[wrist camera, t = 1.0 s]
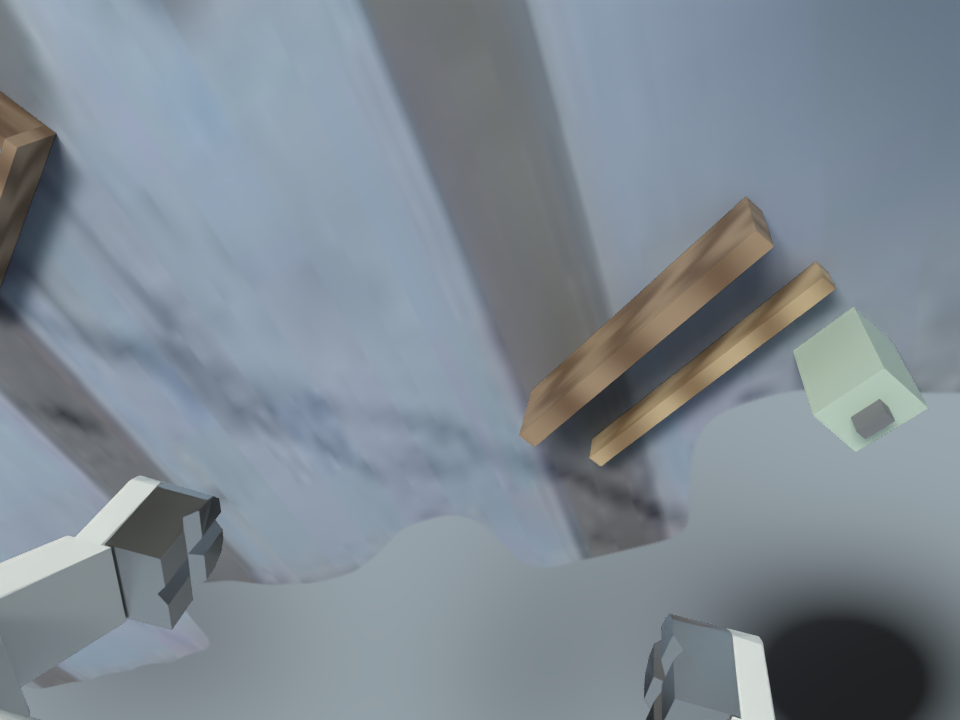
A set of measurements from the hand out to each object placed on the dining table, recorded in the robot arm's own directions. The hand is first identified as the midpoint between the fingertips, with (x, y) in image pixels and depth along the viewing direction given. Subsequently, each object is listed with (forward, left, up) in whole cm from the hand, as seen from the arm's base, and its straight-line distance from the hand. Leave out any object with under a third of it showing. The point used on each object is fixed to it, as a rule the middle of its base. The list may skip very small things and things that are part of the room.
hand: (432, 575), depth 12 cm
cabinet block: (+1, +24, -39) cm, 46 cm away
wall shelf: (+9, +15, -39) cm, 43 cm away
